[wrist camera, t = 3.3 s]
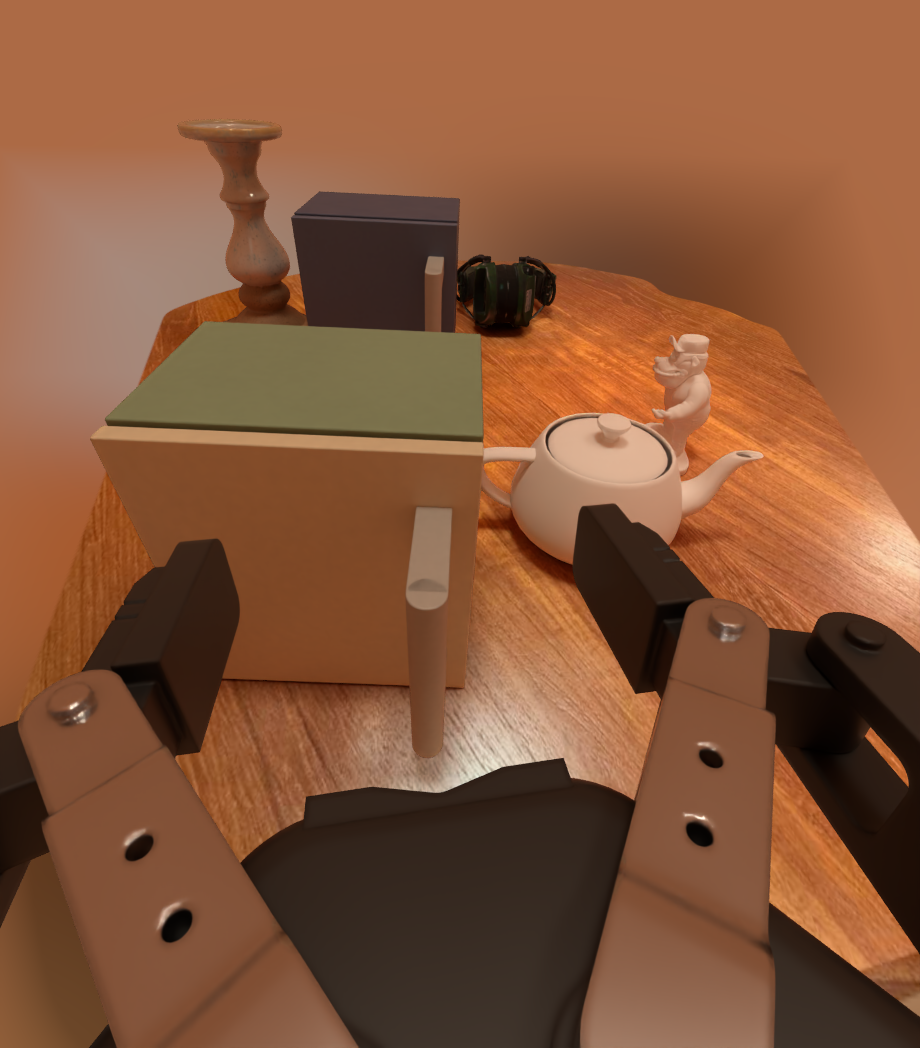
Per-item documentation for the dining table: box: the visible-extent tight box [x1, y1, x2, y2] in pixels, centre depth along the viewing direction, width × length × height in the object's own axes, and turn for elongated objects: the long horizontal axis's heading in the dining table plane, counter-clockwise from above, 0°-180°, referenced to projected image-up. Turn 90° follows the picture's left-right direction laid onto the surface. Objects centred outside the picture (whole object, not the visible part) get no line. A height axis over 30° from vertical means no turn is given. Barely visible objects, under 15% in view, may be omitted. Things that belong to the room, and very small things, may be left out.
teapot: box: [481, 413, 763, 565], centre depth 41 cm, size 22×14×11 cm, turn 88°
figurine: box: [646, 334, 711, 476], centre depth 51 cm, size 9×7×12 cm
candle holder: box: [177, 119, 308, 326], centre depth 62 cm, size 11×11×24 cm
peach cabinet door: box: [90, 426, 484, 758], centre depth 25 cm, size 7×16×18 cm, turn 89°
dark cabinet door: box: [291, 215, 457, 333], centre depth 54 cm, size 7×16×18 cm, turn 89°
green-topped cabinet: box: [105, 321, 483, 443], centre depth 32 cm, size 11×16×18 cm
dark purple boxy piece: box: [294, 192, 460, 333], centre depth 61 cm, size 11×16×18 cm
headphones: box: [456, 255, 556, 328], centre depth 80 cm, size 13×13×20 cm
